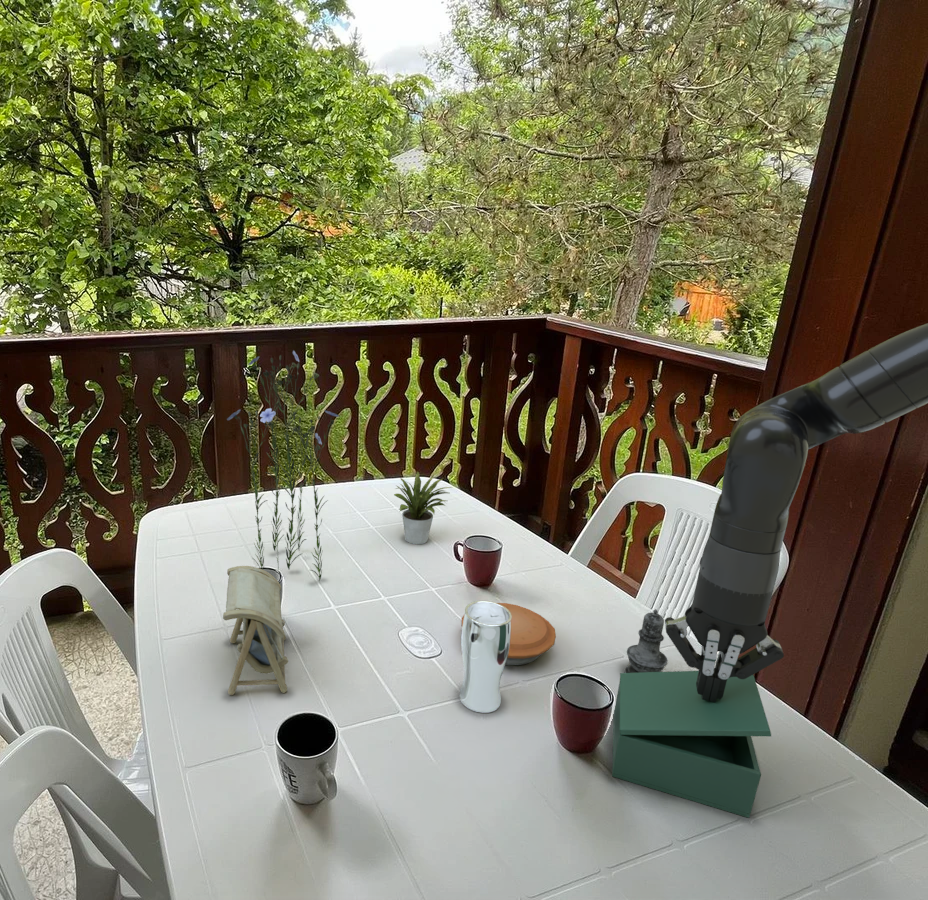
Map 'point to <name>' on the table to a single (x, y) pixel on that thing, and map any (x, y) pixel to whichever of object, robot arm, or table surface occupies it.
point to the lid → (688, 706)
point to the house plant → (418, 509)
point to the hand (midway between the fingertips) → (707, 697)
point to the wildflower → (268, 417)
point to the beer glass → (484, 654)
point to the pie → (527, 635)
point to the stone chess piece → (648, 647)
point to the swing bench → (256, 624)
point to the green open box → (690, 766)
